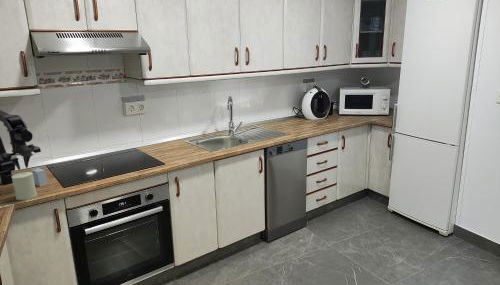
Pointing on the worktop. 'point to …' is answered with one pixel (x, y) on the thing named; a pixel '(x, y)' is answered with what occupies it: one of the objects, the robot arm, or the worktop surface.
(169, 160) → the worktop surface
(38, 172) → the light blue box
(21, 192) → the can
